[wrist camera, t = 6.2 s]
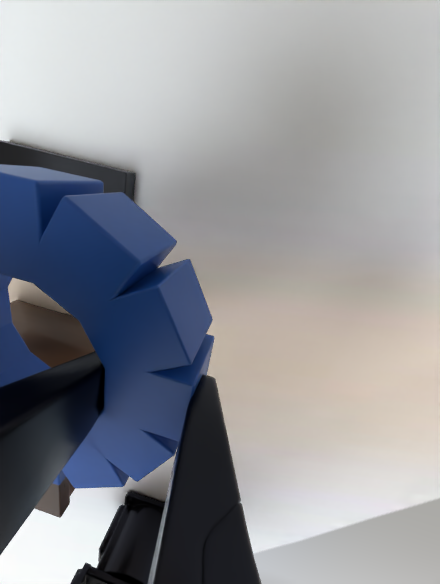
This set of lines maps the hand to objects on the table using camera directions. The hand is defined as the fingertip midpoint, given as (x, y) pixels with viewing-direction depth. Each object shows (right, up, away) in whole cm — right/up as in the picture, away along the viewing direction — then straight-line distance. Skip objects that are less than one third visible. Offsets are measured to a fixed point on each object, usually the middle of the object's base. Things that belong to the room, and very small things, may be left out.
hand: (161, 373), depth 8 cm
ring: (-3, +1, +1) cm, 4 cm away
